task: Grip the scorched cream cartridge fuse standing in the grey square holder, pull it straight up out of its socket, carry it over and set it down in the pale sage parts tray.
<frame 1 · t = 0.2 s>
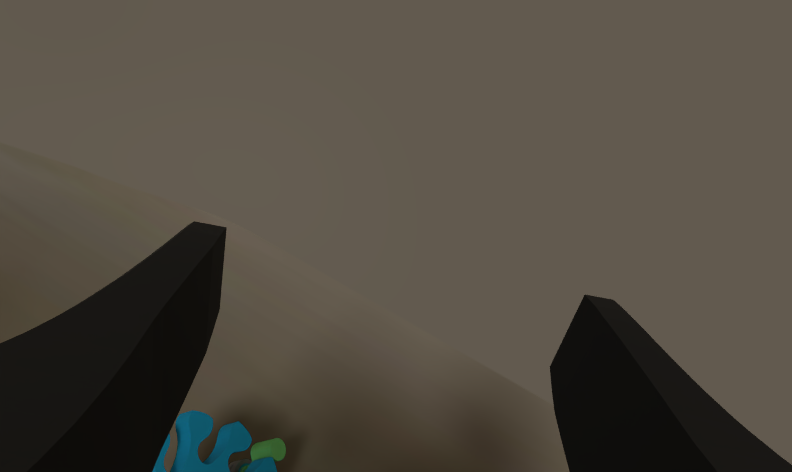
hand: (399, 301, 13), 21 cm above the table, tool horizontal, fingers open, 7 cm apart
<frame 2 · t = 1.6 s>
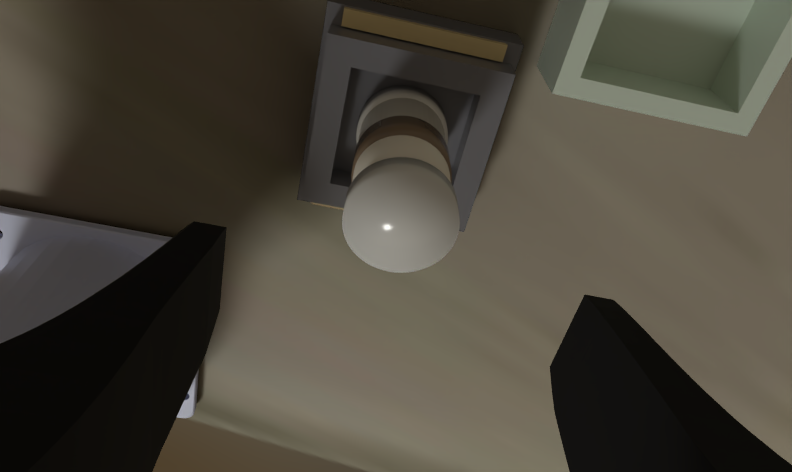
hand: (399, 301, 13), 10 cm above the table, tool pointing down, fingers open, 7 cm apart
grey square holder: (402, 113, 21), on the table
fuse: (402, 128, 20), point 1 cm above the table, touching grey square holder
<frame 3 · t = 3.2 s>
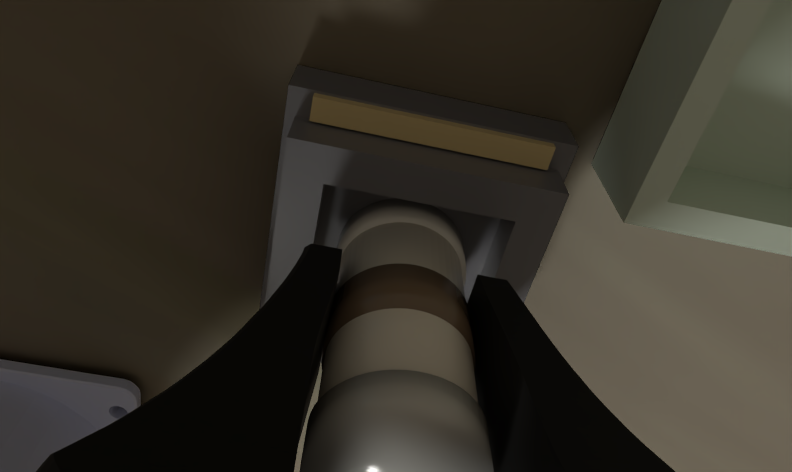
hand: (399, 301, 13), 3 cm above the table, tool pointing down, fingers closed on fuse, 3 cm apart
grey square holder: (400, 224, 15), on the table
fuse: (400, 253, 14), point 1 cm above the table, touching grey square holder, gripper
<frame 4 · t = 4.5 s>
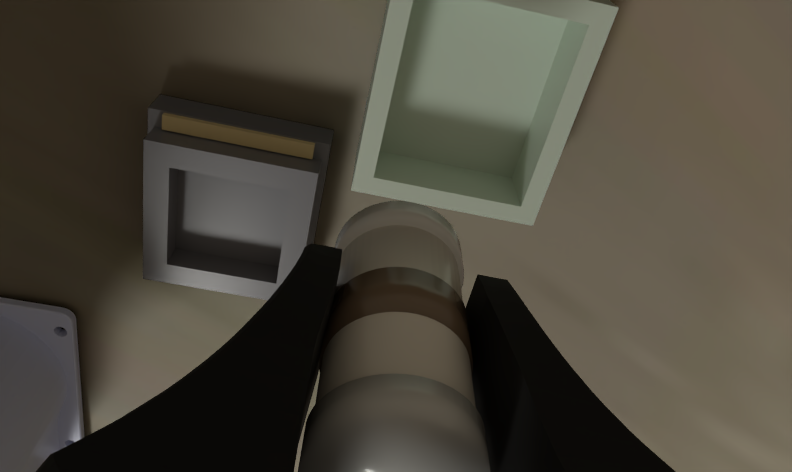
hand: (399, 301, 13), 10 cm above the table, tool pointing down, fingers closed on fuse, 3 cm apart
parts tray: (466, 78, 20), on the table
grey square holder: (240, 196, 23), on the table
fuse: (397, 255, 14), point 8 cm above the table, touching gripper
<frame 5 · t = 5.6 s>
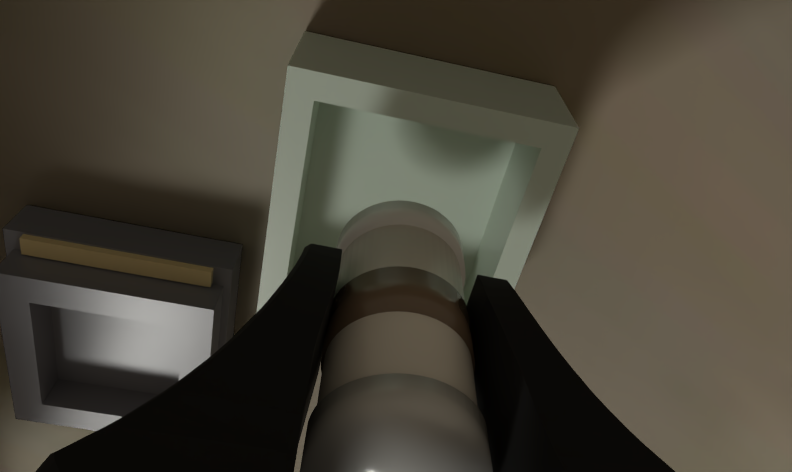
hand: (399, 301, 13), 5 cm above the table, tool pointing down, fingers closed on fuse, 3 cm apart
parts tray: (400, 188, 17), on the table
grey square holder: (137, 315, 19), on the table
fuse: (399, 255, 14), point 3 cm above the table, touching gripper
when the fingers open (3 cm above the table, at t = 6.2 s): fuse drops 1 cm, resting on parts tray.
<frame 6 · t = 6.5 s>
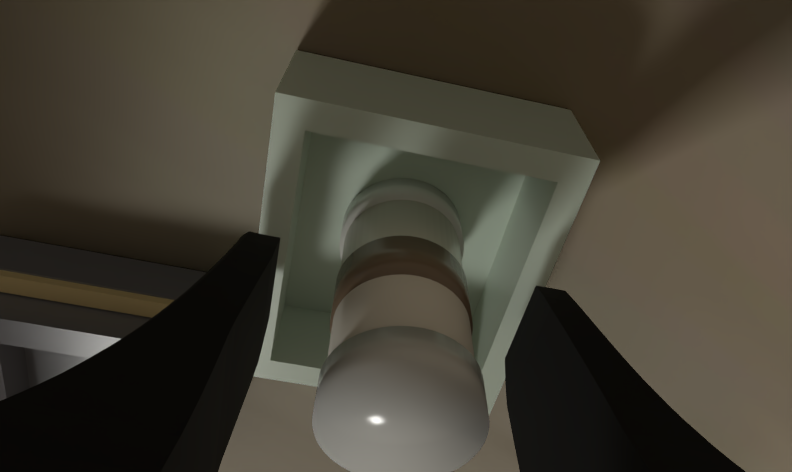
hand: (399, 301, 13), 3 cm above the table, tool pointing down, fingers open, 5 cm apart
parts tray: (400, 218, 15), on the table
grey square holder: (118, 350, 18), on the table
fuse: (401, 230, 15), point 1 cm above the table, touching parts tray
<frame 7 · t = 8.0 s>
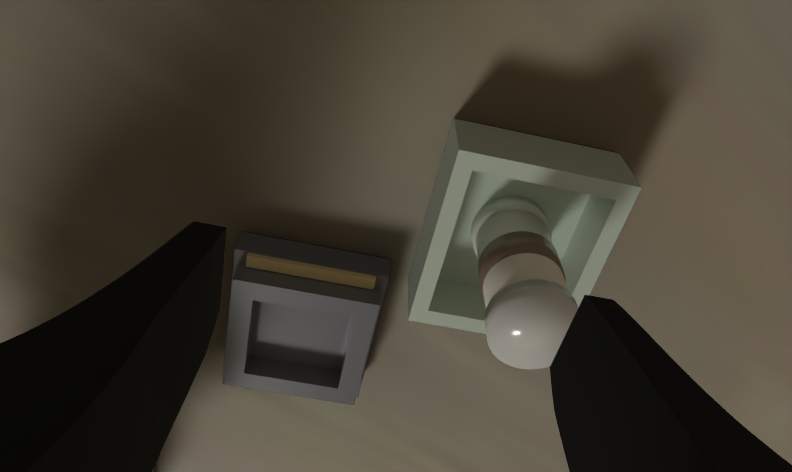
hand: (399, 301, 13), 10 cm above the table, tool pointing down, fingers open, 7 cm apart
parts tray: (506, 220, 24), on the table
grey square holder: (305, 310, 26), on the table
fuse: (509, 228, 23), point 1 cm above the table, touching parts tray
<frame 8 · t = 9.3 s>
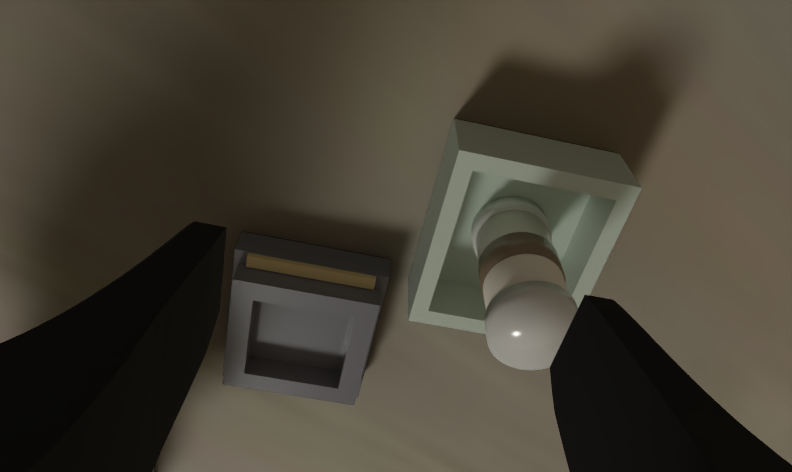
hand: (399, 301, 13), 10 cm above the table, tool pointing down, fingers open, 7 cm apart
parts tray: (506, 220, 24), on the table
grey square holder: (305, 310, 26), on the table
fuse: (509, 229, 23), point 1 cm above the table, touching parts tray
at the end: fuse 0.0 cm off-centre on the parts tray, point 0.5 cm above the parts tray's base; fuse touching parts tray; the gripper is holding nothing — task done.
